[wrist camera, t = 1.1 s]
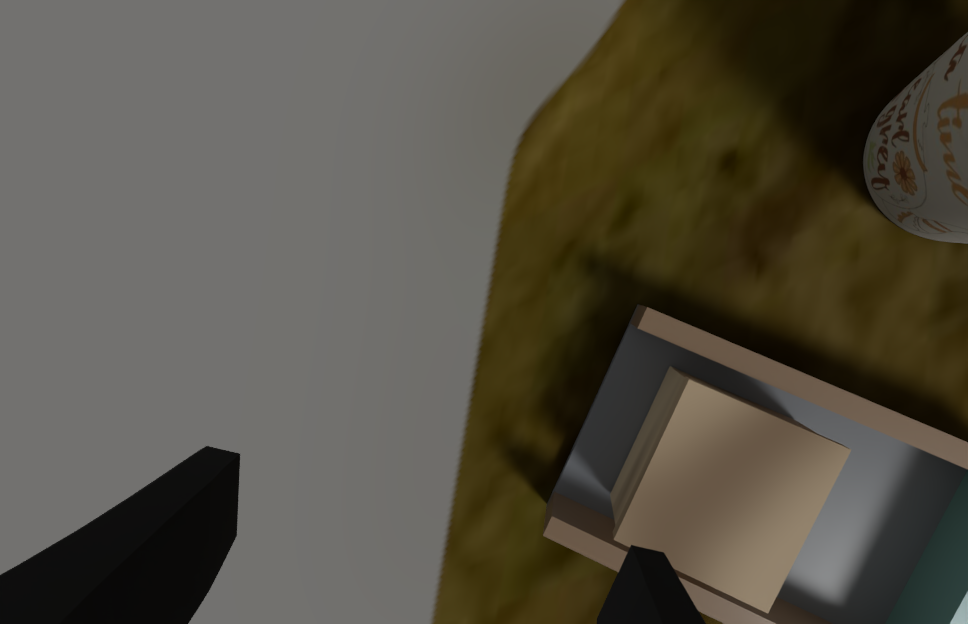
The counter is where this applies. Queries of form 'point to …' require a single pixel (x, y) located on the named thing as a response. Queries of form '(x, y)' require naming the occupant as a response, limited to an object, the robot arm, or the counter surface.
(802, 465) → the tan wooden block
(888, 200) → the mug
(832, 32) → the counter surface
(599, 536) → the bay
